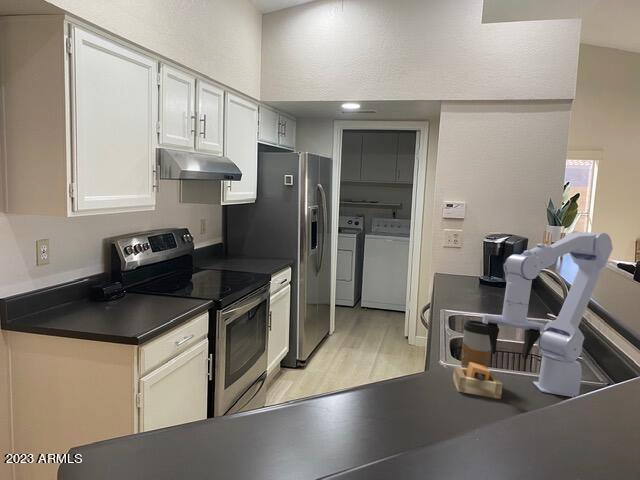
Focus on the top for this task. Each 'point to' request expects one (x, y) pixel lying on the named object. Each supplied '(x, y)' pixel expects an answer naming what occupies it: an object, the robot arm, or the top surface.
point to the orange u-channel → (477, 370)
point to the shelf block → (477, 383)
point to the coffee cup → (475, 344)
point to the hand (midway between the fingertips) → (508, 355)
